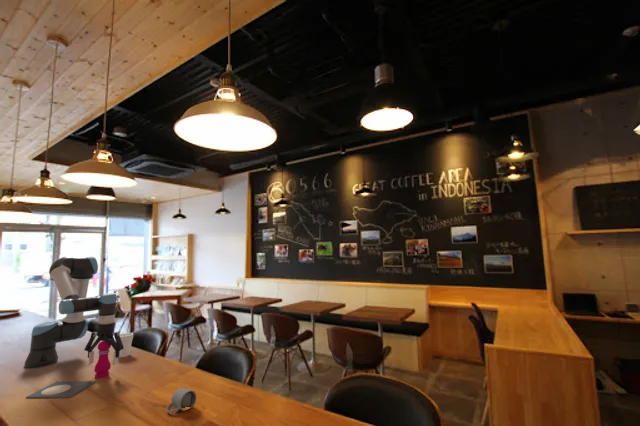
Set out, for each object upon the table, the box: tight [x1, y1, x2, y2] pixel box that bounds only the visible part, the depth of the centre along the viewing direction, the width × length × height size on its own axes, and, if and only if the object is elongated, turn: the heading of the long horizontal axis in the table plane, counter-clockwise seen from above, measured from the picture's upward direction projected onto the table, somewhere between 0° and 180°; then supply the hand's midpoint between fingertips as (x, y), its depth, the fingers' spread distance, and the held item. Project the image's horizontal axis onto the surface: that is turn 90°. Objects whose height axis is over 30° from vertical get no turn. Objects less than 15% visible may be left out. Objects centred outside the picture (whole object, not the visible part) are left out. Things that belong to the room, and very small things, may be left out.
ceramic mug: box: [166, 387, 197, 414], centre depth 133 cm, size 11×8×8 cm
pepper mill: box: [94, 341, 112, 380], centre depth 168 cm, size 7×7×20 cm
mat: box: [25, 380, 97, 399], centre depth 151 cm, size 20×17×1 cm
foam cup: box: [118, 332, 134, 358], centre depth 201 cm, size 10×9×13 cm
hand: (102, 363), depth 168 cm, fingers open, 12 cm apart
